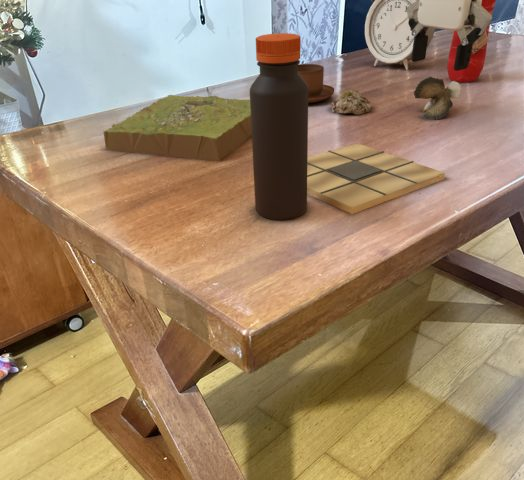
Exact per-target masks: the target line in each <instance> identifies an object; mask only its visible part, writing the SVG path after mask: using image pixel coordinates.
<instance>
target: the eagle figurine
mask: <svg viewBox="0 0 524 480" xmlns="http://www.w3.org/2000/svg"><path fill="white" fill-rule="evenodd" d="M461 92H462V86H461V84H460V82H455V81H451V80H450V82H449V83H448V85H447V87H445V82H444V79H443V78H438V77H437V78H435V77H433V76H428V77H426V78H424V79H422V80H420V81H419V83H417V86H415V89H414V90H413V96H414V99H416V100H417V99H419V100H421V99H423V100H429V101H428V102H427V103H426V104H425V106H424V107H423V110H422V112H424V113H422V115H421V117H422V119H424V120H426V121H434V120H439V119H443V118H444V117H446V116H447V115H448V114H449V112H450V110H451V109H452V108H453V106H454V103H453V100H452V99H458V98H459V97H460V94H461Z"/></svg>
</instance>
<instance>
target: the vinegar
mask: <svg viewBox="0 0 524 480" xmlns="http://www.w3.org/2000/svg"><path fill="white" fill-rule="evenodd" d="M301 37H302V36H301V35H299V34H296V33H290V32H289V33H285V32H284V33H281V32H280V33H277V32H276V33H267V34H262V35H259V36H257V37H256V38H255V59H256V61H257V63H256V65H257V66H258V67H259V73H258V76H257V77H256V79H254V81H253V82H252V84H251V85H250V88H249V100H250V110H251V129H252V135H251V145H252V147H251V148H252V167H253V186H254V187H253V188H254V189H253V190H254V208H255V211H256V213H257V214H258V215H259V216H261V217H262V218H264V219H267V220H272V221H288V220H293V219H296V218H299V217H300V216H302V215H304V214H305V213H306V211H307V209H308V194H307V158H309V157H308V153H309V152H308V149H309V146H308V144H309V143H308V142H309V103H308V84H307V83H306V82H305V81H304V79H303V78H302V77H301V76H300V75H299V74H298V72H297V65H300V64H301V60H300V59H301V47H302V45H301Z"/></svg>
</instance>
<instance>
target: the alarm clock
mask: <svg viewBox="0 0 524 480" xmlns="http://www.w3.org/2000/svg"><path fill="white" fill-rule="evenodd" d="M370 1H371V3H372V4H371V6H370V8H369V10H368V12H367V14H366V17H365V24H364V39H365V43H366V45H367V47H368V50H369V52H370V53H371V54H372V56H373V57H374V58H375V60H374V64H373V66H374V67H376V66H377V65H378V63H379V62H382V63H384V64H398V63H399V64H400V65H403V66H404V68H405V70H406V71H408V70H409V64H408V63H409V62H408V61H411V58H412V50H413V42H414V37H413V36H412V34H411V33H412V30H411V28H410V26H409V24H408V22H409V19H408V15H407V7H408V6H410V5H411V4H413V3H414V2H416V1H418V0H370ZM417 14H418V12H417ZM417 17H418V16H417ZM435 31H436V28H430V29H429V30H428V32H427V33H426V34H425V35H428V43H427V48H428V47H429V46H430V44H431V42H432V40H433V39H434V35H435Z"/></svg>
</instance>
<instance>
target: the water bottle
mask: <svg viewBox="0 0 524 480" xmlns="http://www.w3.org/2000/svg"><path fill="white" fill-rule="evenodd" d="M496 1H497V0H482V3H481V6H482V7H483V8H484V9H485V10H486V11H487V12H488V13H490V14H491V16H492V17H493V13H494V9H495V5H496ZM477 24H478V23H477ZM476 26H477V25H476ZM476 26H475V27H473V28H476ZM490 27H491V22H490V23H489V25H488V26H487V28H486V29H485V32H484V34H483V35H482V36H481V37H480V38H478V39H477V42H476V43H473V47H472V52H471V57H470V62H469V64H468V68H467V69H463V70H459V71H456V70H454V63H455V57H456V52H457V47H458V45H460V44H461V41H460V38H459V36H458V33H457V31H453V34H452V39H451V44H450V48H449V52H448V59H447V66H446V70H447V75H448V79H449V80H450V82H451V81H455V82H457V83H472V82H475V81H477V80H478V79H479V77H480V75H481V73H482V72H483V70H484V65H485V61H486V56H487V55H486V54H487V48H488V43H489V42H490V39H489V32H490Z"/></svg>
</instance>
